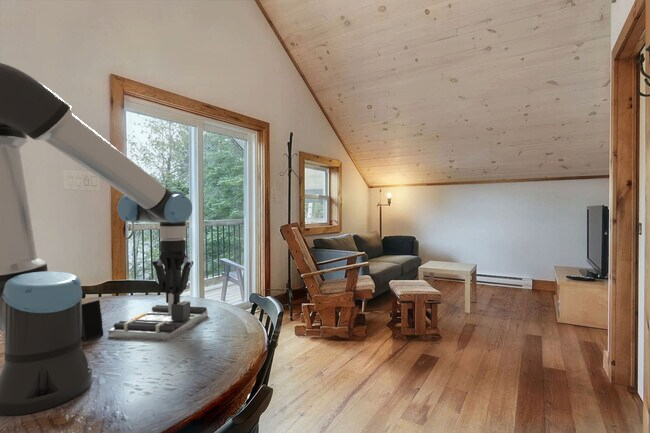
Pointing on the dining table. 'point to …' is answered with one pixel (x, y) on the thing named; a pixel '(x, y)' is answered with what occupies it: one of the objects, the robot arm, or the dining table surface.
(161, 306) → the cords right
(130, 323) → the cords left
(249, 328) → the dining table surface
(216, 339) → the dining table surface
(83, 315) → the speaker
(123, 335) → the panel
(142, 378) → the dining table surface
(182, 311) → the dark grey block
